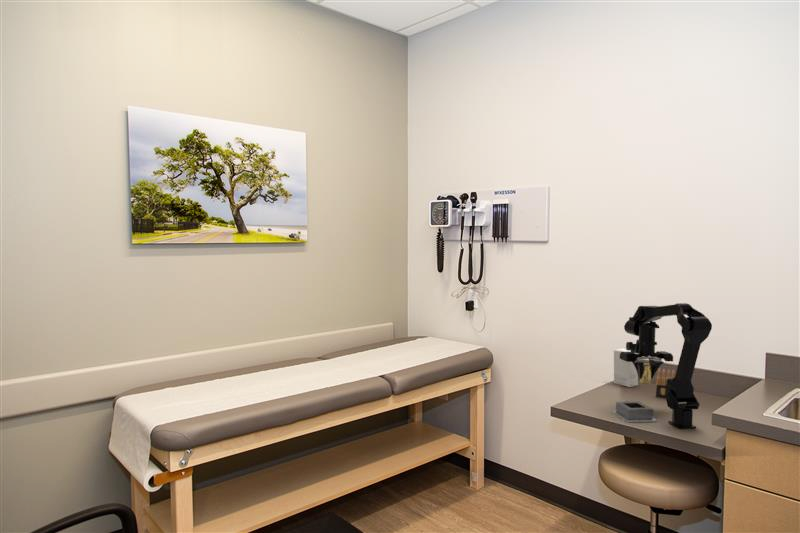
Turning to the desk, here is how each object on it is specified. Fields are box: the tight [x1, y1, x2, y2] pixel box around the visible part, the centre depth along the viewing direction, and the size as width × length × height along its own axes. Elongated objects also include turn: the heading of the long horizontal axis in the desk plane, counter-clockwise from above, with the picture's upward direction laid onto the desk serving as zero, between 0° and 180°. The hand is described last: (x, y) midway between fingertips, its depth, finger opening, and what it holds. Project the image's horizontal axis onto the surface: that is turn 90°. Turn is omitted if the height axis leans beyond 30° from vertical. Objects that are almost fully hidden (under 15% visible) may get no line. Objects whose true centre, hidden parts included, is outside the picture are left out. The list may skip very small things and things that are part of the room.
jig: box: [611, 401, 658, 423], centre depth 193 cm, size 11×11×4 cm
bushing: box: [639, 362, 652, 385], centre depth 203 cm, size 4×4×7 cm
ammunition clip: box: [655, 367, 676, 399], centre depth 217 cm, size 11×2×12 cm, turn 62°
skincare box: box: [613, 347, 639, 388], centre depth 237 cm, size 8×7×16 cm
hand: (645, 378), depth 203 cm, fingers closed on bushing, 4 cm apart
